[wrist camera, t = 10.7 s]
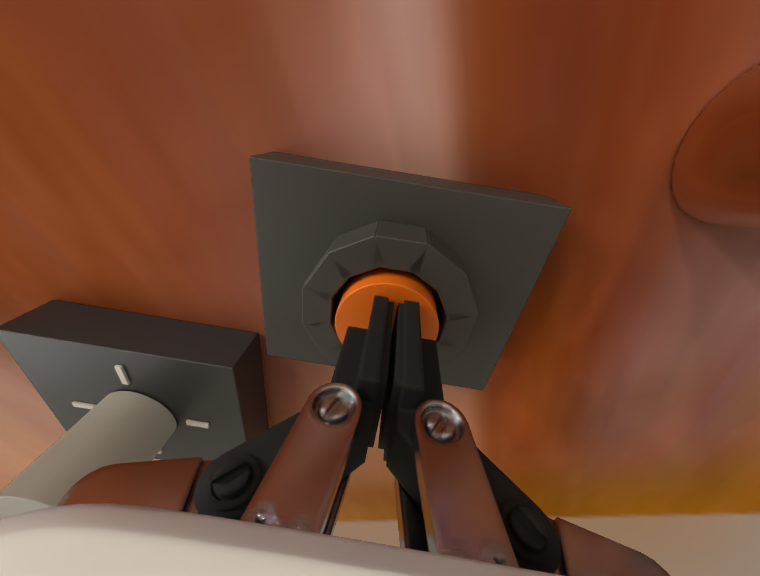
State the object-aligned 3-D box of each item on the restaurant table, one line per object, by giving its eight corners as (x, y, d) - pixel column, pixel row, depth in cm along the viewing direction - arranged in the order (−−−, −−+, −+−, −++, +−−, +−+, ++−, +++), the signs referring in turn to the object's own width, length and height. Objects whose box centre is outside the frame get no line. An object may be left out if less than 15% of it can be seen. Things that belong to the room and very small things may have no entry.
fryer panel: (113, 410, 23) (74, 448, 20) (52, 299, 17) (-13, 331, 15) (269, 435, 23) (251, 477, 20) (258, 332, 17) (231, 370, 15)
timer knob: (118, 429, 19) (13, 540, 14) (94, 384, 16) (-43, 498, 11) (183, 440, 19) (102, 555, 14) (168, 397, 16) (64, 515, 11)
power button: (341, 327, 13) (332, 358, 12) (348, 251, 11) (337, 274, 10) (423, 341, 13) (426, 373, 12) (444, 267, 11) (451, 293, 10)
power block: (282, 330, 17) (250, 381, 14) (273, 151, 12) (219, 161, 9) (475, 361, 17) (492, 420, 14) (546, 195, 12) (602, 223, 9)
